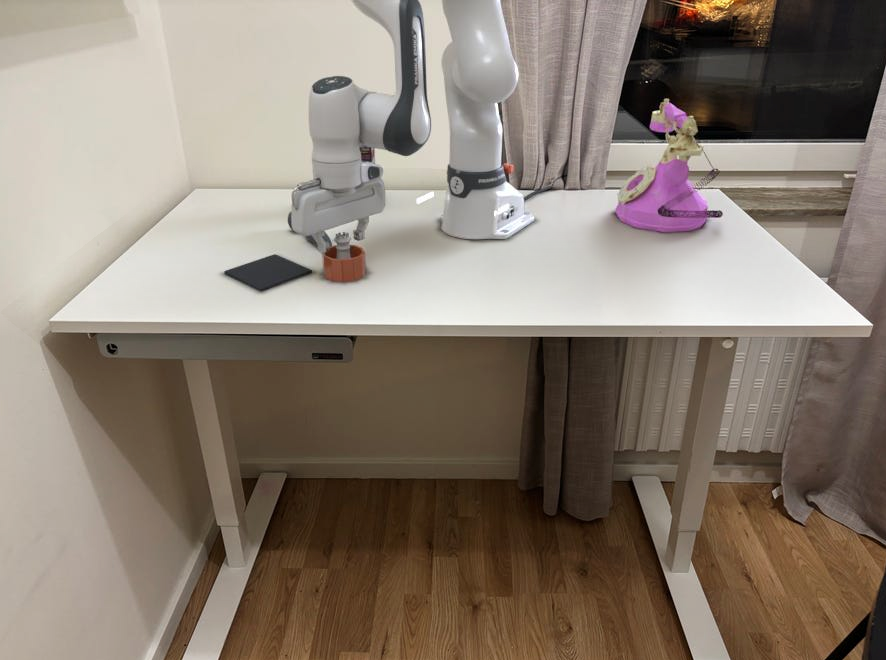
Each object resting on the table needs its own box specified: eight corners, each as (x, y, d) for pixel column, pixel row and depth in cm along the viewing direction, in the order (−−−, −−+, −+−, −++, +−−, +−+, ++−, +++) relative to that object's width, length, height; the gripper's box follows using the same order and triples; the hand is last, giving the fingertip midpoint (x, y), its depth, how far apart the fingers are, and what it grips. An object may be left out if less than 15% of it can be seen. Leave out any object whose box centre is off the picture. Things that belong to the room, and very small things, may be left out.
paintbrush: (346, 248, 156) (344, 225, 153) (325, 253, 153) (323, 230, 151) (299, 223, 170) (297, 201, 167) (280, 227, 167) (277, 206, 164)
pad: (275, 256, 152) (274, 254, 152) (312, 272, 145) (312, 269, 145) (224, 273, 145) (224, 271, 144) (261, 291, 137) (260, 288, 137)
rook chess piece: (329, 276, 143) (326, 236, 139) (340, 267, 147) (337, 229, 143) (349, 279, 142) (347, 240, 138) (360, 271, 146) (358, 232, 142)
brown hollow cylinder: (346, 262, 149) (345, 241, 147) (374, 273, 145) (373, 251, 142) (315, 274, 144) (313, 252, 142) (342, 285, 140) (341, 263, 137)
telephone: (606, 199, 184) (618, 93, 171) (698, 200, 183) (717, 94, 170) (634, 254, 153) (652, 130, 140) (746, 255, 152) (774, 130, 140)
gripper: (302, 189, 126) (309, 265, 133) (389, 165, 139) (391, 235, 146) (280, 181, 130) (287, 256, 137) (367, 159, 143) (370, 228, 150)
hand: (342, 245), depth 142 cm, fingers open, 7 cm apart
